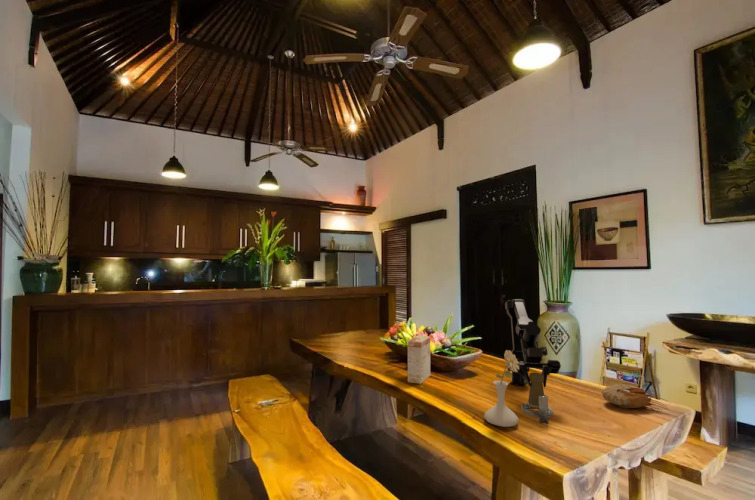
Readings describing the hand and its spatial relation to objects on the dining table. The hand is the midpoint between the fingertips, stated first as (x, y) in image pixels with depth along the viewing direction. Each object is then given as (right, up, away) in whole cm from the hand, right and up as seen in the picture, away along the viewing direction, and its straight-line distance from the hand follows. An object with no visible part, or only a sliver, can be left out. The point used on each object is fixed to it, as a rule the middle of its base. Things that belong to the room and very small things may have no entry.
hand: (537, 386), depth 136 cm
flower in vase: (-16, -10, -9) cm, 20 cm away
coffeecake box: (-40, -12, +40) cm, 58 cm away
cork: (0, -7, +1) cm, 7 cm away
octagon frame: (0, -10, -2) cm, 10 cm away
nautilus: (+40, -11, +5) cm, 42 cm away
